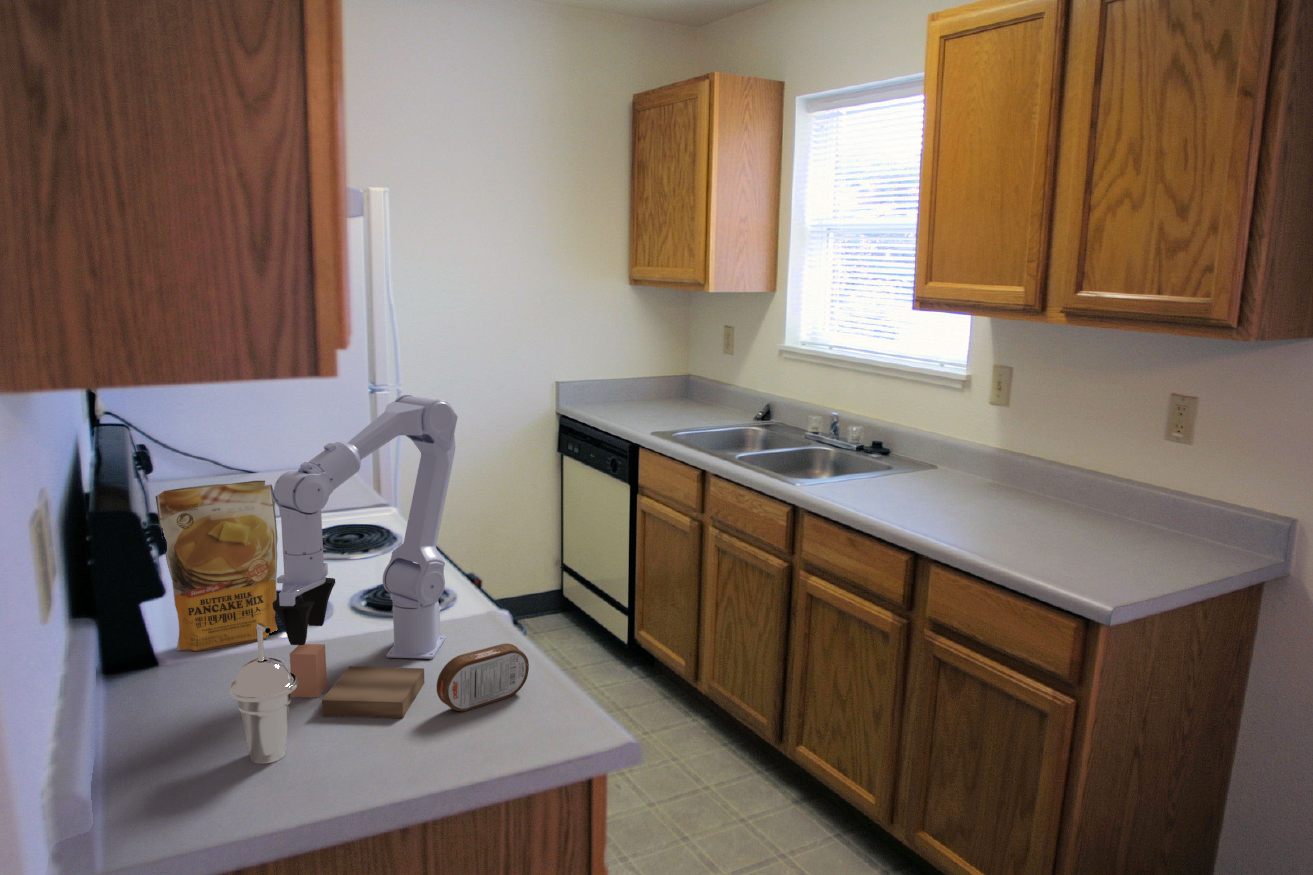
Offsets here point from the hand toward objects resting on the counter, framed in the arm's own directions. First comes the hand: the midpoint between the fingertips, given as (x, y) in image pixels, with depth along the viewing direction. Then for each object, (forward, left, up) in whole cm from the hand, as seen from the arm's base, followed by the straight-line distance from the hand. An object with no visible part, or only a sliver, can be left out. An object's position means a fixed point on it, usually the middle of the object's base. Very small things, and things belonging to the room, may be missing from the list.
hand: (307, 634), depth 147 cm
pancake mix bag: (-19, -22, -10) cm, 31 cm away
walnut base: (+2, +11, -9) cm, 14 cm away
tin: (+2, +28, -10) cm, 30 cm away
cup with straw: (+20, +2, -10) cm, 22 cm away
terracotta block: (0, 0, -9) cm, 9 cm away
